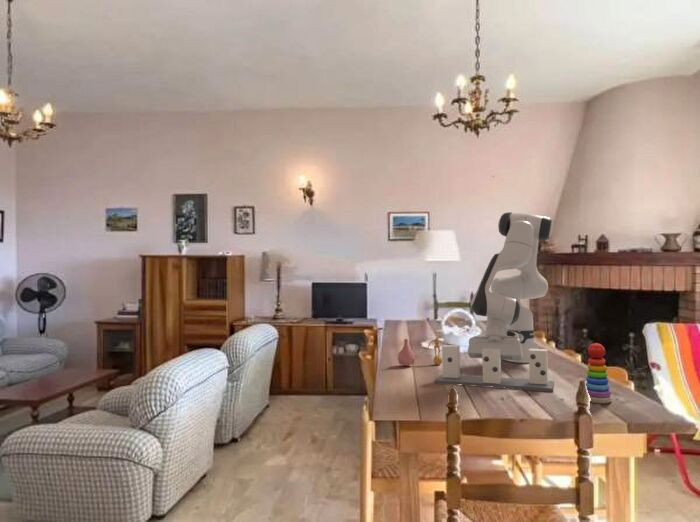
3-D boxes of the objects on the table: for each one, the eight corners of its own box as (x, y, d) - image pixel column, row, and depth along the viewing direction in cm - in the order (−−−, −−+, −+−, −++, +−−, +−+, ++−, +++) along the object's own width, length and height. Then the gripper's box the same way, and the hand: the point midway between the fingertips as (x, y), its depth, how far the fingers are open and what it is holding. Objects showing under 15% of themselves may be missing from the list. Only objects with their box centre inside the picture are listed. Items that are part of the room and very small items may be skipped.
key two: (484, 380, 192) (483, 348, 192) (501, 381, 190) (500, 348, 190) (482, 382, 189) (481, 350, 189) (499, 383, 186) (498, 350, 186)
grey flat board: (442, 376, 206) (442, 373, 206) (554, 384, 189) (554, 381, 189) (434, 383, 196) (434, 380, 196) (552, 392, 178) (552, 388, 178)
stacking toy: (581, 397, 170) (579, 341, 170) (606, 397, 170) (604, 341, 170) (589, 404, 163) (588, 345, 163) (616, 404, 162) (614, 345, 162)
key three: (530, 380, 189) (529, 348, 189) (548, 382, 187) (547, 349, 187) (529, 383, 185) (528, 350, 185) (547, 384, 183) (546, 351, 183)
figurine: (428, 365, 228) (428, 338, 228) (427, 363, 234) (427, 336, 234) (447, 365, 227) (447, 338, 227) (446, 362, 233) (445, 336, 233)
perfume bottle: (394, 365, 230) (394, 339, 230) (408, 363, 234) (408, 337, 234) (404, 368, 223) (403, 341, 223) (418, 366, 227) (418, 339, 227)
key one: (445, 375, 202) (444, 344, 202) (460, 376, 200) (459, 345, 200) (442, 377, 199) (441, 346, 199) (457, 378, 196) (457, 347, 196)
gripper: (468, 331, 204) (463, 360, 195) (522, 333, 195) (520, 364, 187) (470, 341, 208) (466, 370, 199) (523, 343, 200) (521, 373, 191)
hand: (493, 367), depth 193 cm, fingers closed
